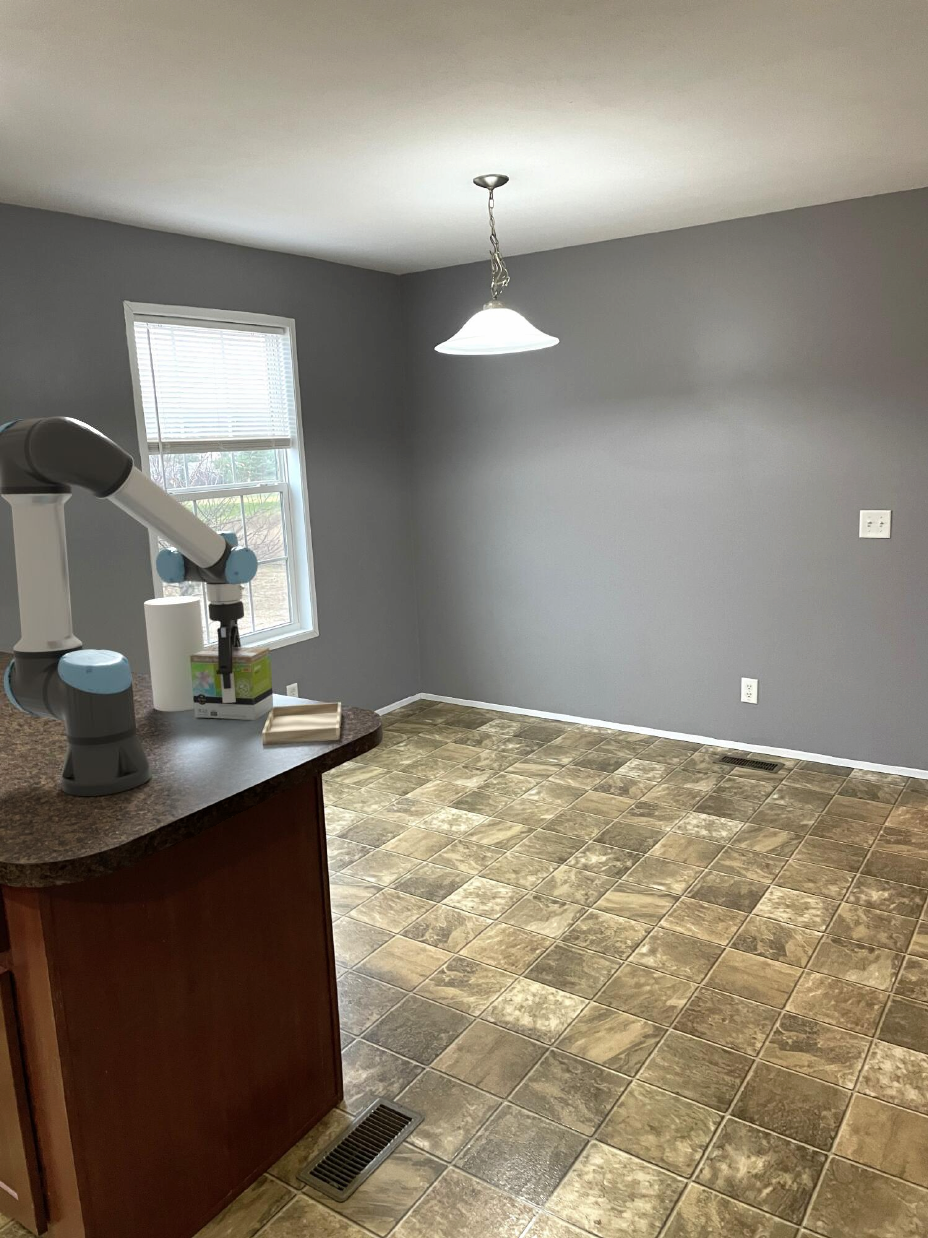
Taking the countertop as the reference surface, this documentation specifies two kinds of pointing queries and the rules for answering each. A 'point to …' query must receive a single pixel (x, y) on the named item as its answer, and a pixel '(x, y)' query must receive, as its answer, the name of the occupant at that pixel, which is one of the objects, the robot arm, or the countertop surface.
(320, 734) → the tray
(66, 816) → the countertop surface
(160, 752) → the countertop surface
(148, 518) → the robot arm
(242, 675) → the tea box
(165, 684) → the cylinder
